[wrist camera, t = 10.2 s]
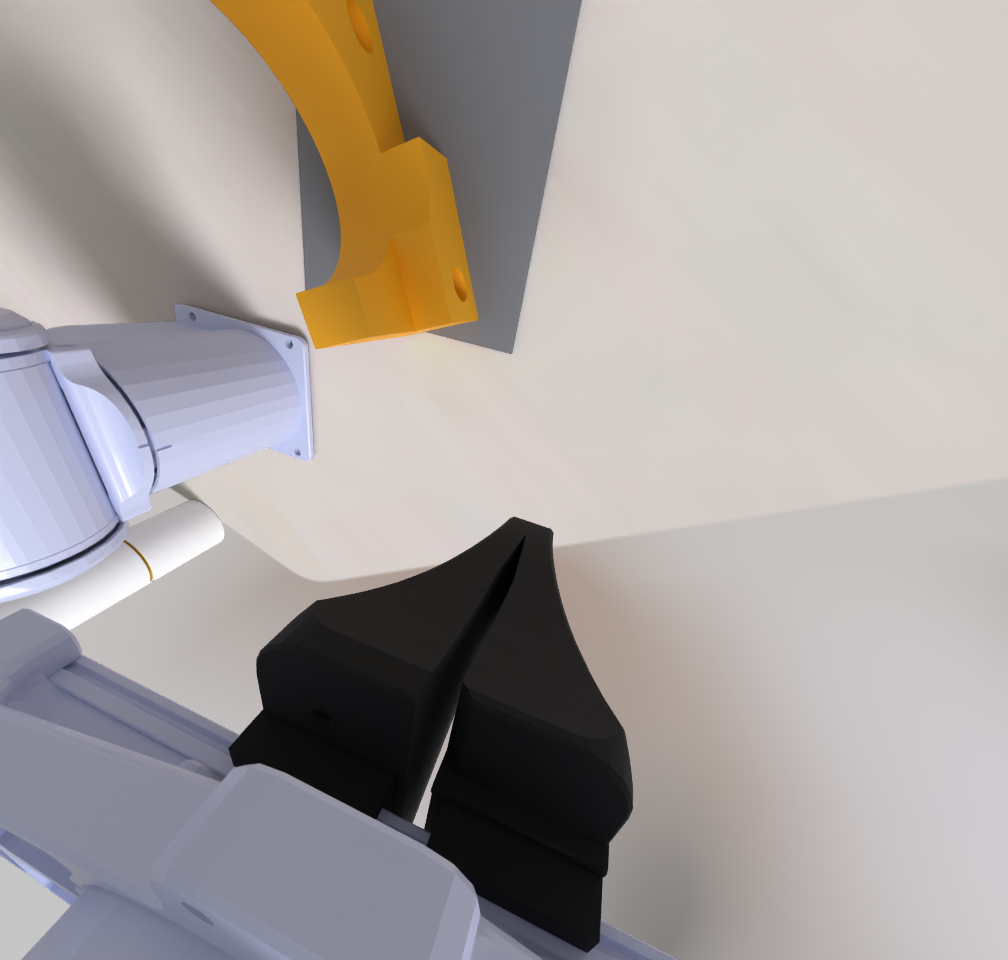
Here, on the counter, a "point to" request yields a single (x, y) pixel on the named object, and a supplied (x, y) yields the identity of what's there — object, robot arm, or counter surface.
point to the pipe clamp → (365, 175)
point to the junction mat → (467, 137)
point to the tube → (128, 565)
